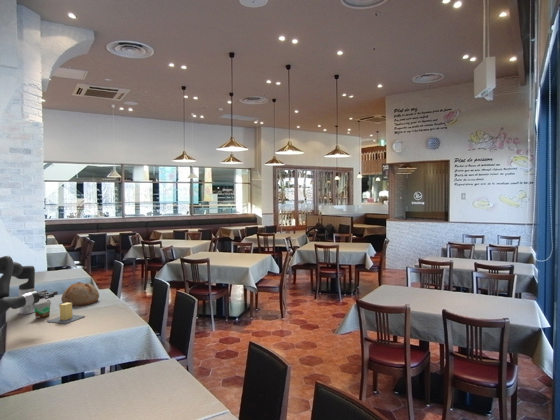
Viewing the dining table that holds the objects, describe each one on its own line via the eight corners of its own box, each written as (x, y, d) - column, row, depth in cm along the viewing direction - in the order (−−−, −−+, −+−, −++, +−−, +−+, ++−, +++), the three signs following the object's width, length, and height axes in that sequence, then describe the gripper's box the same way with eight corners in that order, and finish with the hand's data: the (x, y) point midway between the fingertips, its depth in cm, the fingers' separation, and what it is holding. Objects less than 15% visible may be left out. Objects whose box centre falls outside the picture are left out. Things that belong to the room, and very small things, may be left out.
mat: (46, 322, 251) (46, 321, 251) (66, 314, 266) (66, 314, 266) (65, 324, 246) (65, 323, 246) (85, 316, 261) (85, 316, 261)
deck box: (60, 319, 254) (59, 304, 254) (67, 316, 260) (66, 302, 259) (65, 320, 253) (65, 305, 253) (72, 317, 258) (72, 302, 258)
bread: (55, 304, 295) (54, 284, 294) (81, 297, 316) (81, 279, 316) (78, 308, 284) (78, 287, 284) (104, 300, 305) (104, 281, 305)
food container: (41, 319, 256) (41, 305, 255) (33, 319, 257) (33, 304, 257) (55, 314, 268) (55, 300, 267) (48, 314, 269) (48, 299, 269)
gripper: (37, 293, 228) (60, 287, 243) (19, 291, 232) (43, 285, 247) (37, 306, 228) (60, 298, 244) (19, 304, 232) (43, 297, 248)
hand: (51, 292), depth 245 cm, fingers open, 8 cm apart
